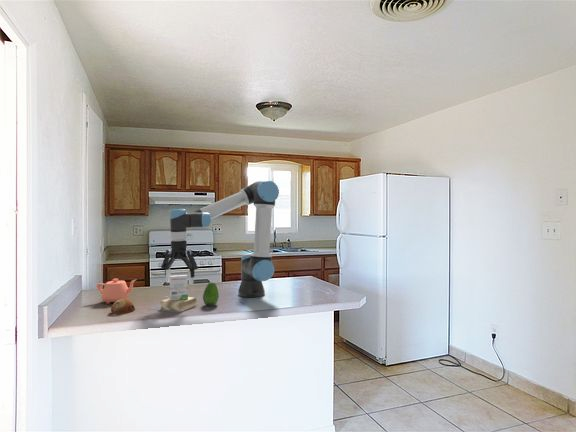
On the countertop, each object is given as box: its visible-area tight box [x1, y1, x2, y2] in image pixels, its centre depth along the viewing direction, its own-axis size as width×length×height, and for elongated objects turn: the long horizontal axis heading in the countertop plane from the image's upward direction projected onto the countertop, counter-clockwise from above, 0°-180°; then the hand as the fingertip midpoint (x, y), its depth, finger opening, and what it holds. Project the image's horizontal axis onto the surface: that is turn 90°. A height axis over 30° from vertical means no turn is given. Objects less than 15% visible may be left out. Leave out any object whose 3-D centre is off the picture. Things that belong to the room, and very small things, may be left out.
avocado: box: [202, 282, 220, 307], centre depth 194 cm, size 8×8×12 cm
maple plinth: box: [160, 296, 197, 313], centre depth 189 cm, size 12×12×4 cm
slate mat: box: [148, 304, 198, 314], centre depth 190 cm, size 18×16×1 cm
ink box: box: [169, 274, 189, 301], centre depth 189 cm, size 8×5×12 cm, turn 109°
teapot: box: [96, 278, 138, 305], centre depth 203 cm, size 13×20×12 cm, turn 101°
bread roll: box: [110, 299, 136, 315], centre depth 182 cm, size 10×10×8 cm
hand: (179, 283), depth 189 cm, fingers open, 13 cm apart
